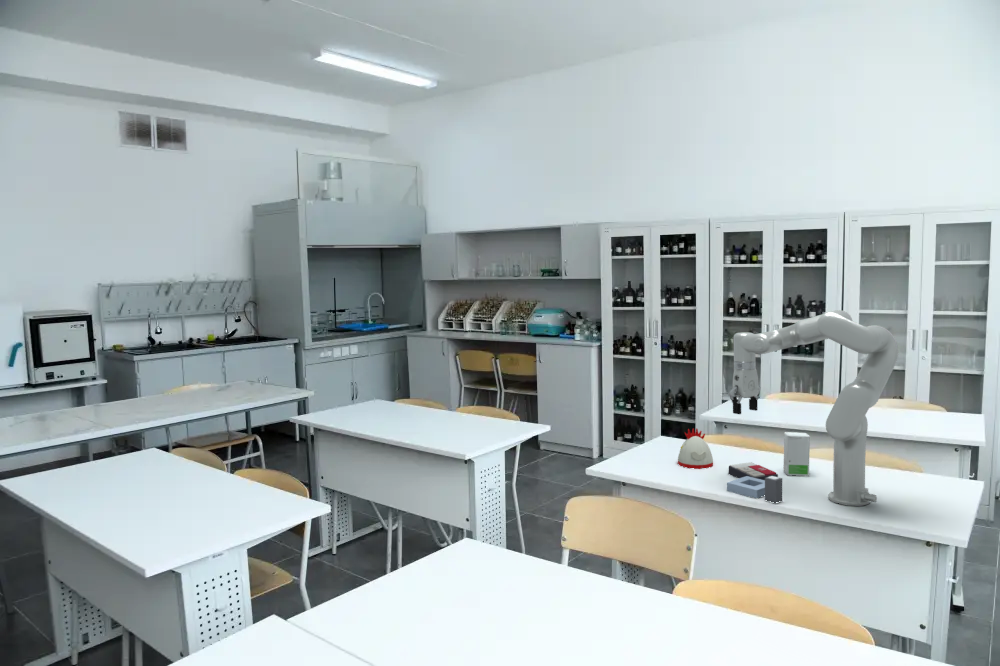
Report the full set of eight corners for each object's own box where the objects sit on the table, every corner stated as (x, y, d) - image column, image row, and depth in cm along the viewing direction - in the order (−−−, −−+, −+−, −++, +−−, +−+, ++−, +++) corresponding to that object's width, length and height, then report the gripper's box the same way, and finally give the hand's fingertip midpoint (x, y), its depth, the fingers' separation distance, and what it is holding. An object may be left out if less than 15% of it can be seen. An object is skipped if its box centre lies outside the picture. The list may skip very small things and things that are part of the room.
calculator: (754, 475, 250) (728, 463, 264) (753, 487, 250) (727, 474, 264) (778, 472, 253) (751, 460, 267) (778, 483, 254) (751, 471, 268)
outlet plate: (776, 491, 242) (776, 483, 241) (756, 498, 234) (756, 490, 234) (746, 483, 251) (746, 475, 251) (726, 490, 244) (726, 482, 244)
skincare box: (786, 475, 259) (786, 435, 258) (782, 471, 266) (782, 431, 265) (810, 476, 258) (810, 435, 257) (805, 471, 264) (805, 431, 263)
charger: (782, 501, 231) (782, 477, 230) (775, 503, 229) (775, 480, 228) (771, 498, 234) (771, 475, 234) (764, 501, 232) (764, 477, 231)
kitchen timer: (674, 460, 286) (674, 425, 285) (707, 459, 286) (707, 424, 285) (682, 469, 272) (681, 432, 271) (717, 468, 272) (716, 431, 271)
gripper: (738, 369, 243) (739, 416, 244) (767, 364, 253) (768, 410, 254) (721, 367, 249) (722, 413, 250) (750, 362, 259) (750, 407, 260)
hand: (745, 411), depth 252 cm, fingers open, 9 cm apart
